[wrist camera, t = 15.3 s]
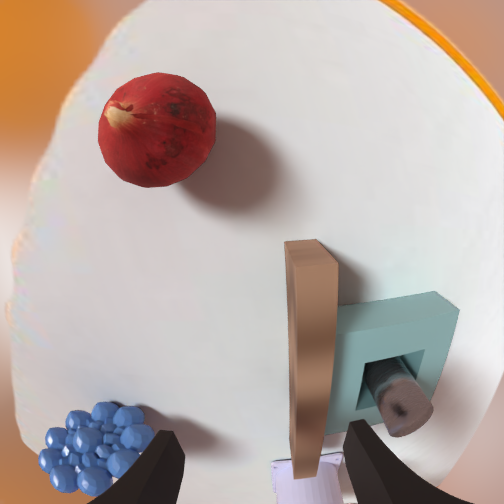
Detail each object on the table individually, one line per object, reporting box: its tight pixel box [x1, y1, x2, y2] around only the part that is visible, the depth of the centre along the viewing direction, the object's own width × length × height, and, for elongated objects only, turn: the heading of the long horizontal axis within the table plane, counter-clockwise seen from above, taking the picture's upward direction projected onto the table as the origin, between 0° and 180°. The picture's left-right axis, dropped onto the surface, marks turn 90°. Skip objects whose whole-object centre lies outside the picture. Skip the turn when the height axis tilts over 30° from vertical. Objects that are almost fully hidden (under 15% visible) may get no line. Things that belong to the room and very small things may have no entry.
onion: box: [98, 72, 216, 188], centre depth 12 cm, size 6×6×8 cm
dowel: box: [363, 356, 433, 437], centre depth 16 cm, size 3×3×7 cm
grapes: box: [38, 402, 155, 496], centre depth 16 cm, size 12×7×12 cm, turn 100°
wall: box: [284, 239, 339, 480], centre depth 17 cm, size 20×2×5 cm, turn 5°
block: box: [324, 291, 460, 435], centre depth 18 cm, size 10×10×4 cm
